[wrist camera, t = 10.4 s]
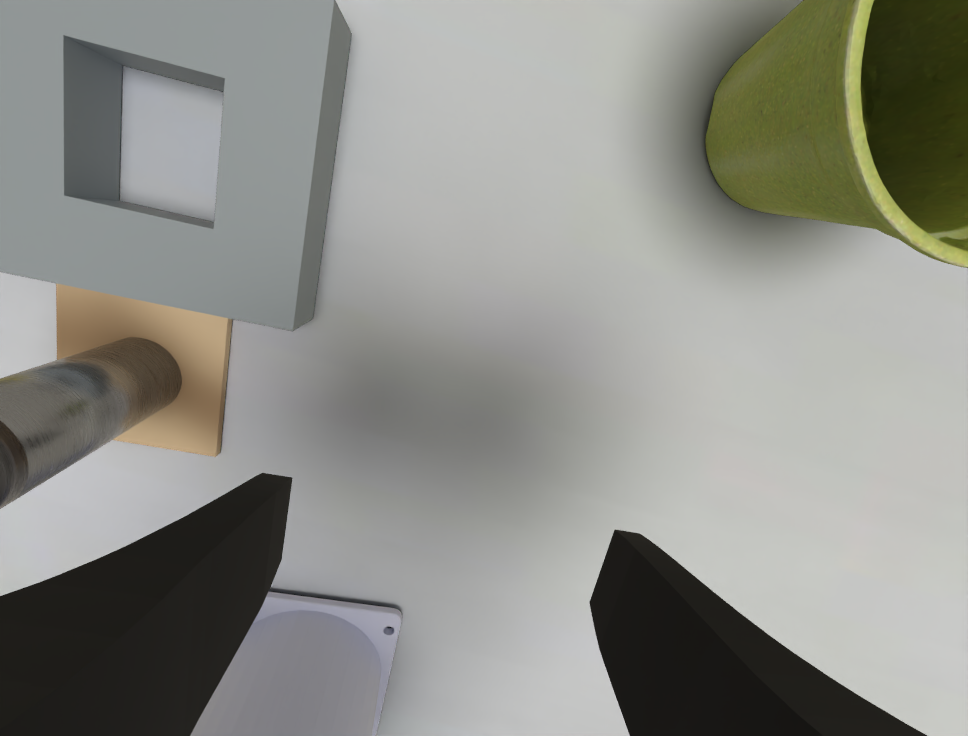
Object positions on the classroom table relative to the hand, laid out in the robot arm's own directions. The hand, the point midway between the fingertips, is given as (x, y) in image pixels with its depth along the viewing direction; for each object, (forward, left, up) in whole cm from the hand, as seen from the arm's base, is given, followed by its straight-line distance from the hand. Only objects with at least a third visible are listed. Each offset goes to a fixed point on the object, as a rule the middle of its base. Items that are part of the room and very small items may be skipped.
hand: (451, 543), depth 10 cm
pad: (-2, +12, -10) cm, 16 cm away
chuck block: (+12, +11, -10) cm, 19 cm away
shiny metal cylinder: (-2, +12, -10) cm, 15 cm away
